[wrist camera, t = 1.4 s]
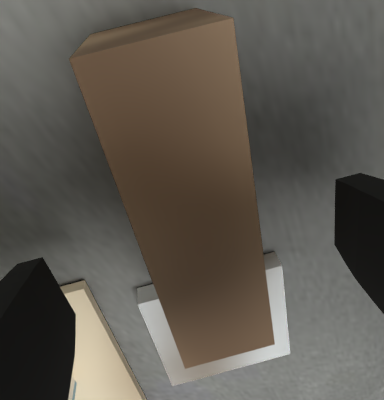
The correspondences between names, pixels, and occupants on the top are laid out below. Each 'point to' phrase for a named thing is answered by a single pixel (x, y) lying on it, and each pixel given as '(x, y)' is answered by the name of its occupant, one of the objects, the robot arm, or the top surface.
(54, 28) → the top surface
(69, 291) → the tan flat rectangular piece
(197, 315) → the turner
